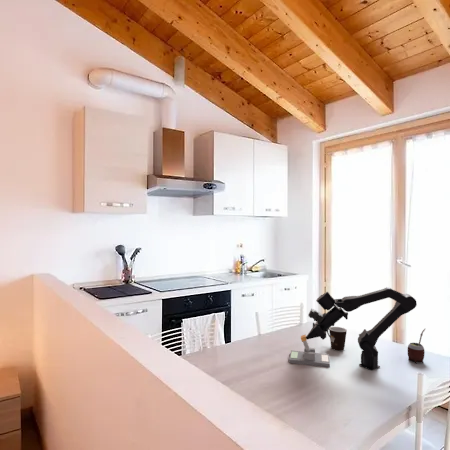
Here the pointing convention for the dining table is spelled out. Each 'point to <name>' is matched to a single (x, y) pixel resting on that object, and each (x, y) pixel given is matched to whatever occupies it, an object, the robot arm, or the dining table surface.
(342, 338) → the coffee mug
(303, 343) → the lever
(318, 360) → the switch panel
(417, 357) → the mate gourd
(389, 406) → the dining table surface
